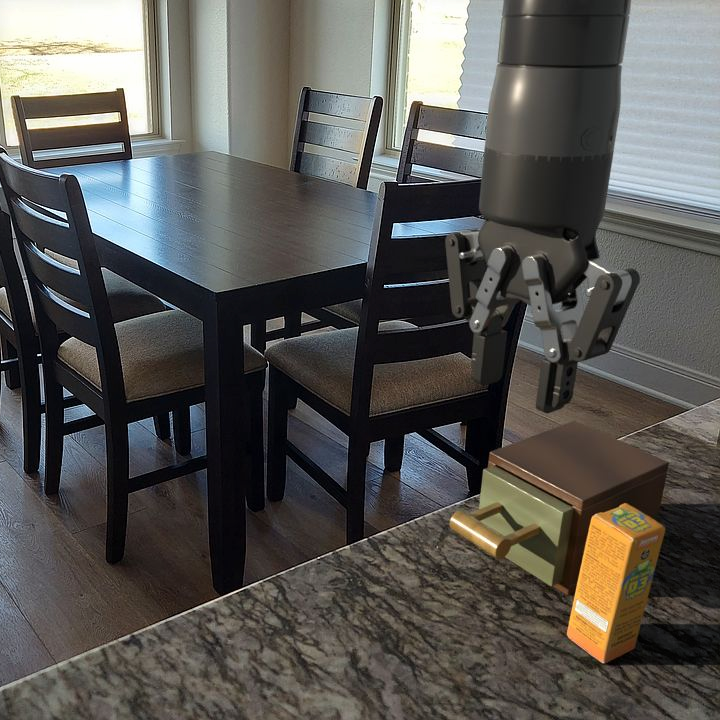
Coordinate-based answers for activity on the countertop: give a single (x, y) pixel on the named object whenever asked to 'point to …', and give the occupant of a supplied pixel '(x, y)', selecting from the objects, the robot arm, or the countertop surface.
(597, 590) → the supplement box
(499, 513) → the drawer
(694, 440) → the countertop surface
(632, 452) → the cabinet
